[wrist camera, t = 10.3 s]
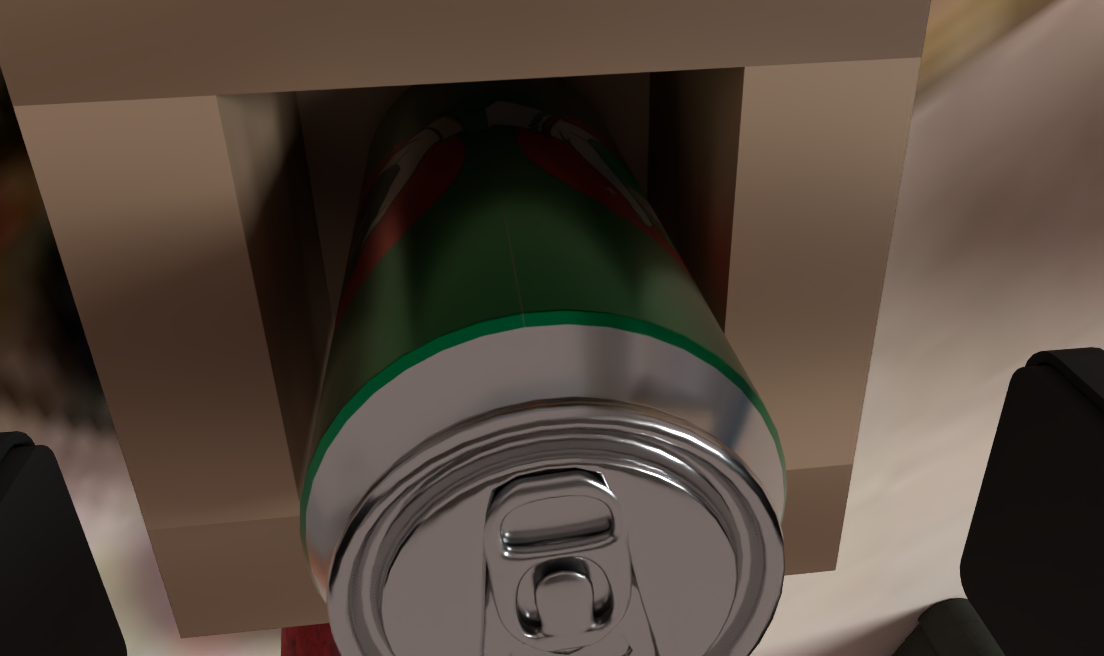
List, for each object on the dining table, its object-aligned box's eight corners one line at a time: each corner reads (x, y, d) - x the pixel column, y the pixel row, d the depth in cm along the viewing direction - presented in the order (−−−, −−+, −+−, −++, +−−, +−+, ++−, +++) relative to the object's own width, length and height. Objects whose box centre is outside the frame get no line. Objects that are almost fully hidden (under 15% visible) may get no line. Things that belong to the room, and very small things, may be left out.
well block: (126, -136, 16) (-57, -113, 10) (773, -156, 17) (955, -148, 11) (250, 415, 22) (180, 638, 16) (729, 375, 23) (835, 570, 17)
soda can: (392, 298, 20) (346, 814, 10) (344, 67, 18) (213, 424, 7) (618, 267, 20) (814, 737, 10) (603, 35, 18) (843, 334, 7)
